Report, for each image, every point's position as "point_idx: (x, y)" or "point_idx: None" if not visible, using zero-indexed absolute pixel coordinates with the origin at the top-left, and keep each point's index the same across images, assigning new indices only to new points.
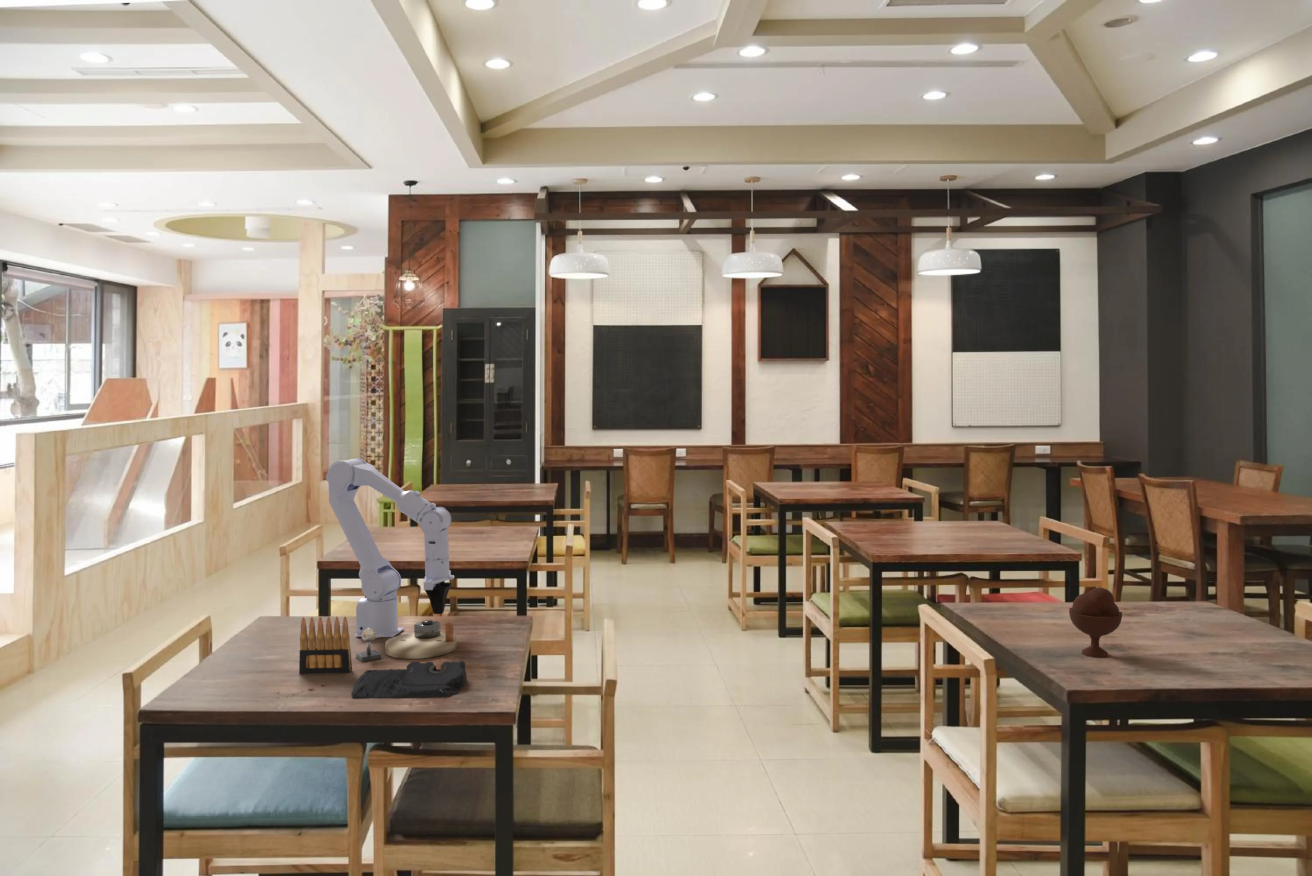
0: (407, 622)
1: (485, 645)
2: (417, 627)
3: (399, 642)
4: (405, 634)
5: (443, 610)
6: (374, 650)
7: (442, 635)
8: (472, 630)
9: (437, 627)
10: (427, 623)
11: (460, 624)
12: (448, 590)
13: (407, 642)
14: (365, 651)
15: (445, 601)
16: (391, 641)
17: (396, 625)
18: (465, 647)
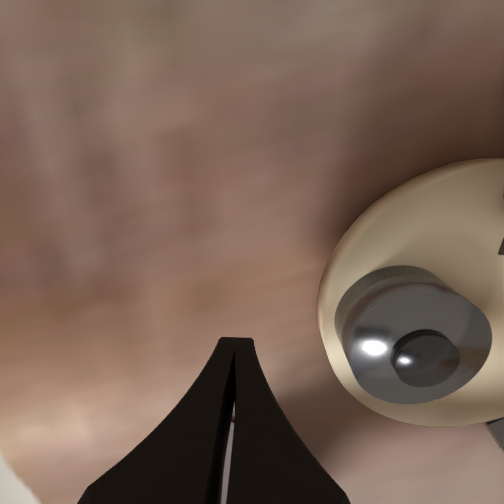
0: (72, 434)
1: (434, 6)
2: (466, 377)
3: (487, 384)
4: (361, 396)
5: (231, 344)
6: (495, 425)
7: (400, 254)
8: (134, 173)
9: (455, 291)
10: (455, 352)
11: (43, 258)
12: (152, 452)
13: (494, 358)
14: (501, 443)
15: (205, 380)
16: (462, 411)
17: (226, 453)
18: (453, 118)
